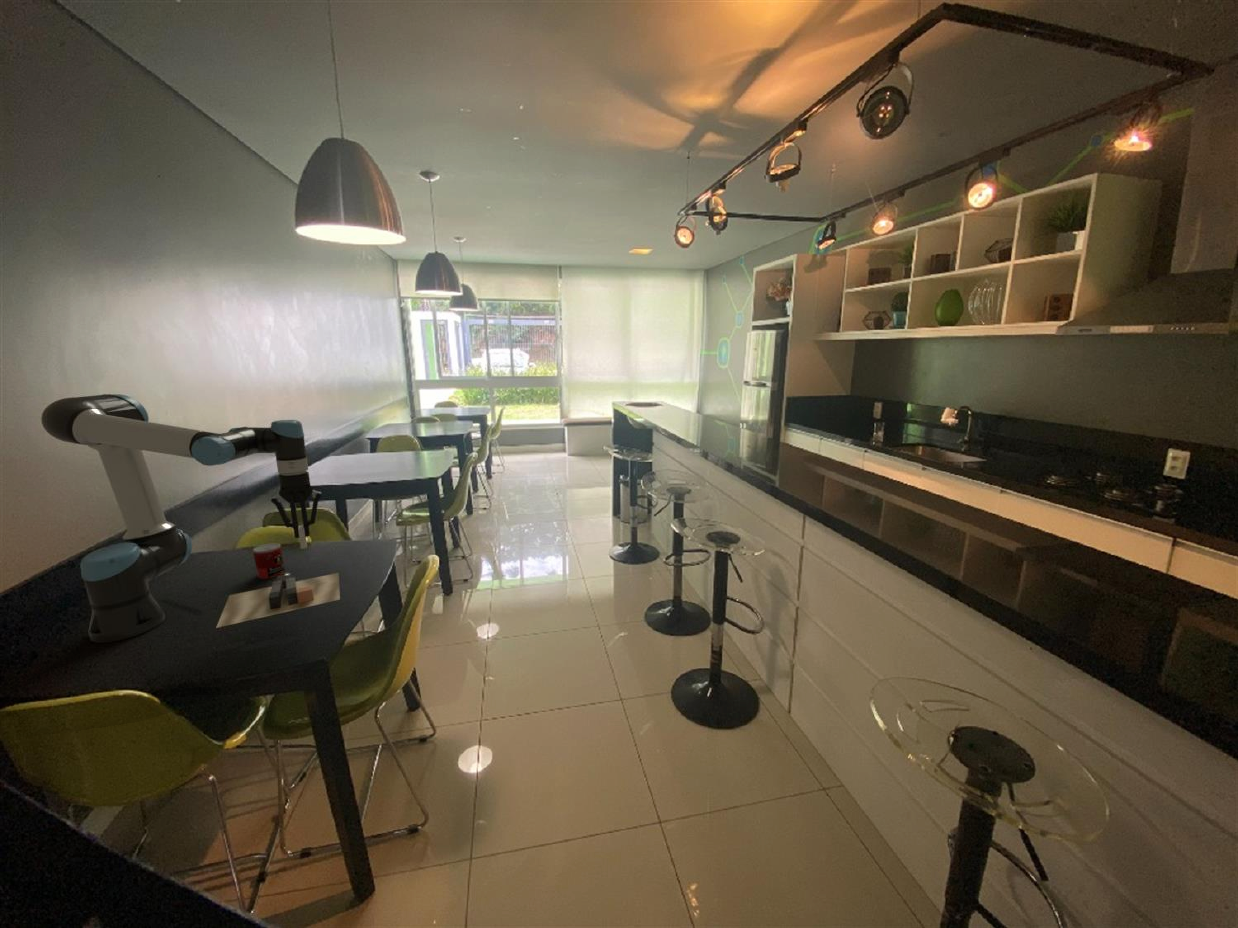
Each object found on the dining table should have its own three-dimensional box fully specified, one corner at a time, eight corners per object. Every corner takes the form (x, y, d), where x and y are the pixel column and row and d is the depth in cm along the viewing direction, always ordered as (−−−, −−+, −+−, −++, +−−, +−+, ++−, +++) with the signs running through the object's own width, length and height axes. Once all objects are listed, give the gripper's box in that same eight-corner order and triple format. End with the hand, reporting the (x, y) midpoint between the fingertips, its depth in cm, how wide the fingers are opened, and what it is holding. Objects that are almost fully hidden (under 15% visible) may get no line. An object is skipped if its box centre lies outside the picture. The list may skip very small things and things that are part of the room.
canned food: (272, 582, 164) (266, 552, 161) (252, 580, 166) (246, 550, 163) (291, 572, 171) (286, 543, 169) (272, 571, 173) (266, 542, 170)
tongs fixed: (276, 585, 159) (273, 574, 158) (292, 582, 161) (291, 571, 160) (270, 609, 144) (268, 597, 143) (289, 605, 146) (287, 593, 145)
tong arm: (287, 588, 157) (285, 578, 156) (296, 586, 158) (295, 576, 157) (288, 605, 146) (286, 594, 145) (298, 602, 148) (296, 592, 147)
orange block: (298, 603, 147) (296, 592, 147) (299, 599, 150) (297, 588, 149) (314, 599, 149) (312, 589, 148) (314, 595, 152) (312, 585, 151)
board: (216, 631, 135) (216, 627, 135) (230, 598, 153) (229, 595, 153) (340, 602, 150) (339, 599, 149) (339, 575, 168) (338, 572, 168)
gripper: (265, 477, 138) (277, 555, 143) (318, 472, 144) (328, 547, 149) (268, 472, 144) (279, 546, 149) (319, 467, 151) (328, 539, 156)
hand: (304, 546), depth 149 cm, fingers closed
